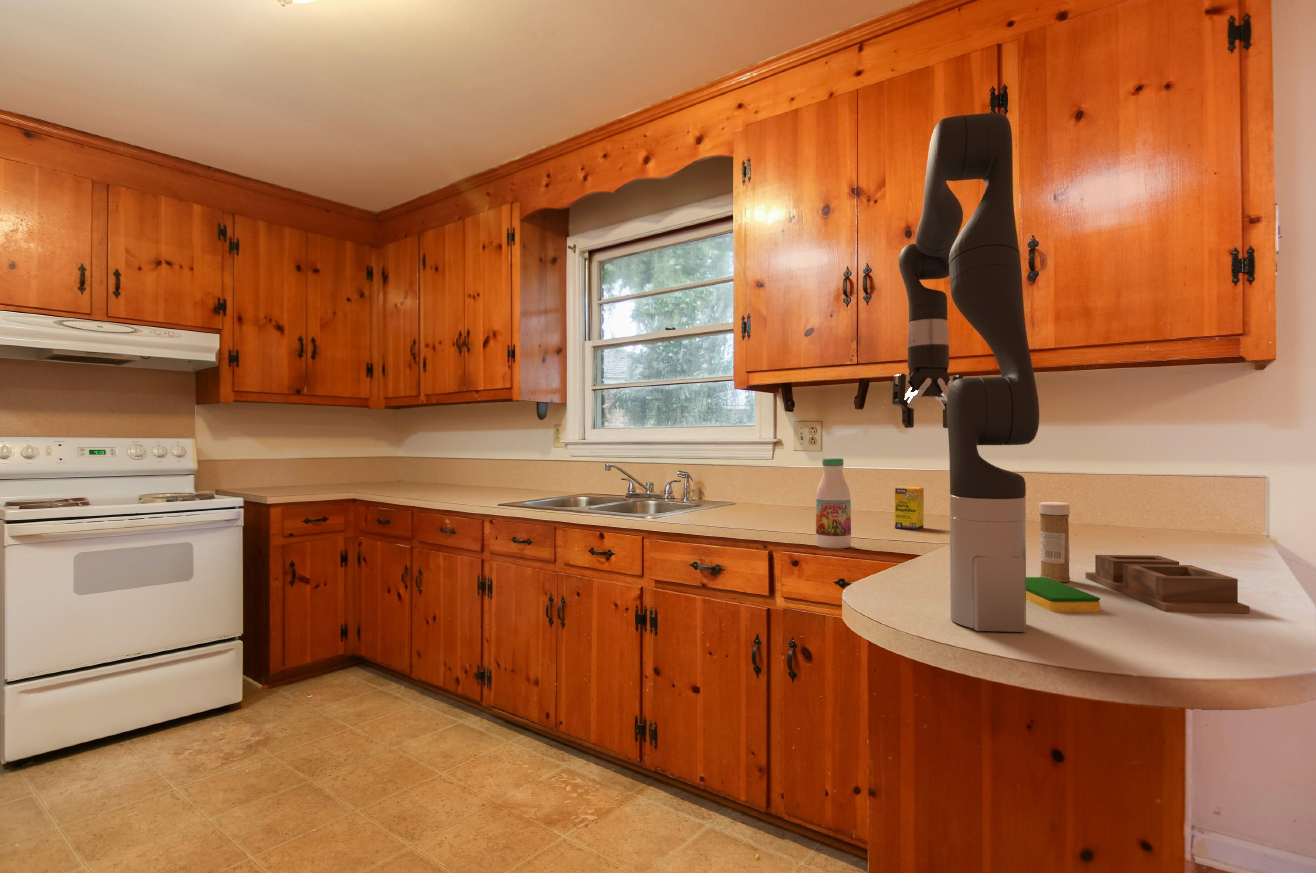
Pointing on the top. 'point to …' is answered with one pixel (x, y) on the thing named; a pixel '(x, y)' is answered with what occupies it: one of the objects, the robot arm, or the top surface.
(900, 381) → the robot arm
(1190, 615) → the top surface
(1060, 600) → the dish sponge
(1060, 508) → the sprinkles bottle
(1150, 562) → the socket holder
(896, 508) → the supplement box
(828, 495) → the milk bottle
